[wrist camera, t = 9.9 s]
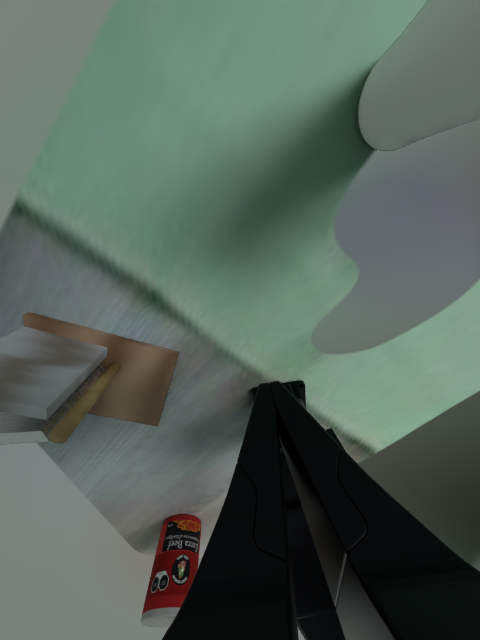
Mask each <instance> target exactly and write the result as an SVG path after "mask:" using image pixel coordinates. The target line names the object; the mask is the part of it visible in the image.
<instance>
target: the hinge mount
mask: <svg viewBox="0 0 480 640" xmlns="http://www.w3.org/2000/svg"><path fill="white" fill-rule="evenodd" d="M23 318H24V327H22V328H20V329H18V330H16V331H14V332H12V333H10V334H8V335H6V336H4V337H2V338H0V412H4V413H10V414H16V415H21V416H27V417H33V418H38V419H44V420H47V419H48V418H49V417H50V416H51V415H52V414H53V413H54V412H55V411H56V410H57V409H58V408H59V407H60V406H61V405H62V403H63V402H64V401H65V400H66V399H67V398H68V397H69V396H70V395H71V394H72V393H73V392H74V391H75V390H76V389H77V388H78V386H79V385H80V384H81V383H82V382H83V381H84V380H85V379H86V378H87V377H88V376H89V375H90V374H91V373H92V372H93V370H94V369H95V368H96V367H97V366H98V365H99V364H103V366H104V368H105V370H104V371H103V372H102V373H101V375H100V376H99V377H98V378H97V379H96V380H95V382H94V383H93V384H92V385H91V386H90V387H89V388H88V390H87V391H86V392H85V393H84V394H83V395H82V397H81V398H80V399H79V400H78V401H77V402H76V403H75V405H74V406H73V407H72V408H71V409H70V410H69V412H68V413H67V414H66V415H65V416H64V417H63V418H62V420H61V421H60V422H59V423H58V424H57V425H56V427H55V428H54V429H53V430H52V431H51V432H50V433H49V435H48V438H49V439H50V440H51V441H53V442H55V443H64V442H66V440H67V439H68V438H69V436H70V435H71V434H72V432H73V431H74V430H75V429H76V427H77V426H78V425H79V423H80V422H81V421H82V419H83V418H84V417H85V415H86V414H87V413H90V414H95V415H100V416H105V417H111V418H116V419H121V420H126V421H132V422H137V423H142V424H148V425H153V426H158V423H159V420H160V416H161V413H162V410H163V406H164V403H165V399H166V396H167V392H168V389H169V385H170V382H171V379H172V375H173V372H174V368H175V365H176V361H177V358H178V354H179V352H176V351H173V350H169V349H165V348H161V347H158V346H154V345H150V344H146V343H143V342H139V341H135V340H131V339H128V338H124V337H120V336H116V335H112V334H109V333H105V332H101V331H97V330H94V329H90V328H86V327H82V326H79V325H75V324H71V323H67V322H64V321H60V320H56V319H52V318H49V317H45V316H41V315H37V314H34V313H30V312H29V313H26V314H24V315H23Z"/></svg>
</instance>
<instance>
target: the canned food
mask: <svg viewBox="0 0 480 640" xmlns="http://www.w3.org/2000/svg"><path fill="white" fill-rule="evenodd" d="M200 537H201V521H200V520H199V519H198V518H197V517H195V516H193V515H187V514H180V515H174V516H171V517H169V518H167V519H166V520H165V522H164V524H163V526H162V529H161V533H160V538H159V542H158V547H157V551H156V555H155V560H154V564H153V568H152V573H151V577H150V582H149V586H148V590H147V595H146V599H145V603H144V608H143V613H142V619H141V623H142V624H143V625H145V626H149V627H160V628H163V627H170V625H171V624H172V622H173V620H174V618H175V617H176V615H177V613H178V611H179V609H180V607H181V605H182V603H183V601H184V599H185V597H186V595H187V593H188V591H189V589H190V586H191V584H192V582H193V580H194V577H195V575H196V572H197V570H198V559H199V548H200Z"/></svg>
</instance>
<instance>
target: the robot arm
mask: <svg viewBox="0 0 480 640" xmlns="http://www.w3.org/2000/svg"><path fill="white" fill-rule="evenodd" d="M252 394H253V400H254V404H253V408H252V411H251V415H250V418H249V422H248V425H247V429H246V432H245V436H244V439H243V443H242V446H241V450H240V454H239V457H238V461H237V462H238V463H237V464H236V467H235V471H234V474H233V478H232V481H231V484H230V487H229V490H228V493H227V496H226V499H225V502H224V504H223V507H222V510H221V512H220V515H219V518H218V520H217V523H216V525H215V528H214V530H213V533H212V535H211V538H210V540H209V543H208V545H207V548H206V550H205V553H204V555H203V558H202V560H201V563H200V565H199V568H198V570H197V572H196V575H195V577H194V580H193V582H192V584H191V586H190V589H189V591H188V593H187V595H186V597H185V599H184V601H183V603H182V605H181V607H180V609H179V611H178V613H177V615H176V617H175V618H174V620H173V622H172V624H171V625H170V627H169V628H168V630H167V632H166V633H165V635H164V637H163V638H162V640H299V639H298V629H297V626H298V628H299V630H300V631H301V633H302V635H303V636H304V638H305V640H480V571H479V570H477V569H476V568H475V567H473V566H472V565H470V564H469V563H468V562H466V561H465V560H464V559H463V558H461V557H460V556H459V555H458V554H456V553H455V552H454V551H453V550H452V549H450V548H449V547H448V546H447V545H446V544H445V543H444V542H442V541H441V540H440V539H439V538H438V537H437V536H436V535H434V534H433V533H432V532H431V531H430V530H429V529H428V528H427V527H426V526H424V525H423V524H422V523H421V522H420V521H419V520H418V519H417V518H416V517H414V516H413V515H412V514H411V513H410V512H409V511H408V510H407V509H405V508H404V507H403V506H402V505H401V504H400V503H399V502H398V501H396V500H395V499H394V498H393V497H392V496H391V495H390V494H389V493H388V492H386V491H385V490H384V489H383V488H382V487H381V486H380V485H379V484H378V483H377V482H376V481H375V480H373V479H372V478H371V477H370V476H369V475H368V474H367V473H366V472H365V471H364V470H363V469H362V468H361V467H360V466H359V465H358V464H357V463H356V462H355V461H354V460H353V459H352V458H351V457H350V456H349V455H348V454H347V452H346V451H345V449H344V448H343V446H342V445H341V443H340V441H339V440H338V438H337V436H336V435H335V433H334V431H333V430H332V428H330V429H326V430H325V429H324V428H323V427H322V426H321V425H320V424H319V423H318V422H317V421H316V420H315V419H314V418H313V417H312V416H311V415H310V413H309V412H308V411H307V410H306V400H305V384H304V382H303V381H295V382H289V383H282V384H281V383H280V382H279V381H274V382H270V383H261V384H259V387H257V388H254V389H253V390H252Z"/></svg>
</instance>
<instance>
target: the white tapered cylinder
mask: <svg viewBox="0 0 480 640" xmlns="http://www.w3.org/2000/svg"><path fill="white" fill-rule="evenodd" d="M479 119H480V0H427V2H426V3H425V4H424V5H423V7H422V8H421V9H420V11H419V12H418V13H417V14H416V16H415V17H414V18H413V20H412V21H411V22H410V23H409V25H408V26H407V27H406V28H405V30H404V31H403V32H402V34H401V35H400V36H399V37H398V38H397V39H396V40H395V41H394V43H393V44H392V45H391V46H390V47H389V48H388V49H387V50H386V52H385V53H384V54H383V55H382V56H381V57H380V59H379V60H378V61H377V63H376V64H375V66H374V67H373V69H372V70H371V72H370V74H369V76H368V78H367V80H366V82H365V84H364V87H363V90H362V93H361V97H360V101H359V108H358V122H359V128H360V131H361V134H362V136H363V138H364V140H365V141H366V142H367V143H368V144H369V145H370V146H371V147H372V148H374V149H377V150H380V151H393V150H396V149H400V148H402V147H404V146H407V145H409V144H411V143H414V142H416V141H418V140H420V139H424V138H426V137H429V136H432V135H435V134H438V133H441V132H444V131H447V130H450V129H452V128H455V127H458V126H461V125H464V124H467V123H470V122H473V121H476V120H479Z"/></svg>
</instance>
